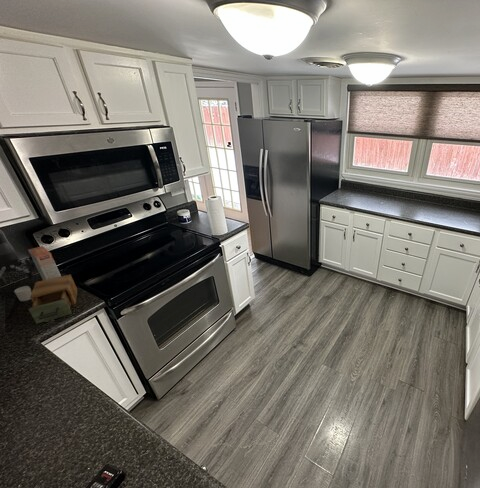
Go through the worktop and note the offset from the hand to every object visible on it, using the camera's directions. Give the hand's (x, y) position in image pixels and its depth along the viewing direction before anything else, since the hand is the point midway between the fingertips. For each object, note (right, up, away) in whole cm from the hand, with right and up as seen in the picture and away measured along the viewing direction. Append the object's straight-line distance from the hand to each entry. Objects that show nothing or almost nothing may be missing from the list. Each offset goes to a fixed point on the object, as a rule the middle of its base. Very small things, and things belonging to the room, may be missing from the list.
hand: (18, 281), depth 127 cm
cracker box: (+4, -5, +14) cm, 15 cm away
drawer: (+25, -14, -6) cm, 29 cm away
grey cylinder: (0, -9, +4) cm, 10 cm away
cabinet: (+17, -10, +3) cm, 20 cm away
